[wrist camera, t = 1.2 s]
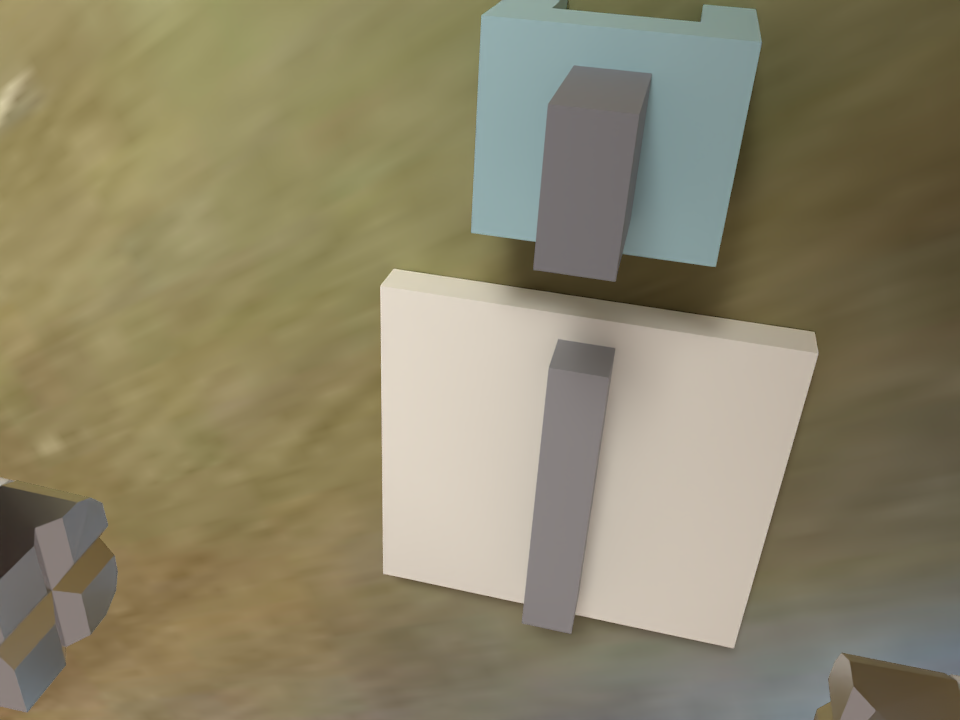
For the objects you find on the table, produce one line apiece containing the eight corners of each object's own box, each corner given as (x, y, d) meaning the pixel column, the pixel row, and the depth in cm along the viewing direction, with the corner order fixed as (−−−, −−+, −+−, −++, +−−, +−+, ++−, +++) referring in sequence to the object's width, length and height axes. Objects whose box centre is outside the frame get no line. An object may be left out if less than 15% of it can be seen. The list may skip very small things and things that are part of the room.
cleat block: (519, -13, 27) (439, 45, 19) (755, 9, 26) (768, 79, 18) (506, 177, 30) (433, 291, 22) (716, 204, 29) (714, 334, 21)
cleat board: (393, 268, 33) (361, 310, 30) (814, 332, 30) (824, 385, 27) (394, 550, 40) (367, 607, 37) (733, 621, 37) (734, 687, 34)
